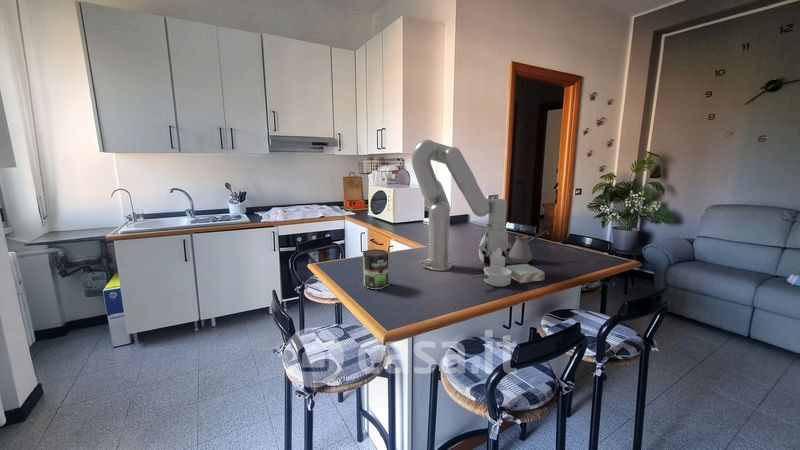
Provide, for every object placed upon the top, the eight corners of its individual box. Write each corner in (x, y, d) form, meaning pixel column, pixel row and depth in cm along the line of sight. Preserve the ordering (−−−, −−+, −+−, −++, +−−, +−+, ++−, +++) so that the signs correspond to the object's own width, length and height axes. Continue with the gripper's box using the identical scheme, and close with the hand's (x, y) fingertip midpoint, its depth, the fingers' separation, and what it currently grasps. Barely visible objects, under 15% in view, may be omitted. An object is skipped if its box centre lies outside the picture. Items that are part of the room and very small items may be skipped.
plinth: (520, 283, 139) (521, 274, 138) (503, 273, 150) (504, 265, 149) (544, 280, 142) (545, 271, 142) (526, 271, 154) (526, 263, 153)
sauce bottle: (475, 264, 164) (477, 228, 161) (481, 260, 171) (483, 225, 167) (491, 266, 160) (493, 230, 157) (496, 262, 166) (498, 227, 163)
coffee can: (392, 287, 135) (392, 253, 132) (369, 292, 130) (368, 257, 127) (382, 279, 144) (381, 247, 141) (359, 283, 139) (359, 251, 136)
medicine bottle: (484, 267, 159) (485, 243, 156) (498, 267, 159) (500, 243, 157) (489, 272, 152) (490, 247, 149) (504, 272, 152) (506, 247, 150)
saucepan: (461, 285, 137) (462, 272, 136) (496, 276, 147) (497, 264, 146) (481, 294, 127) (482, 281, 126) (517, 284, 137) (518, 272, 136)
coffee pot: (517, 265, 162) (519, 235, 159) (503, 259, 173) (505, 230, 170) (553, 261, 168) (556, 232, 165) (538, 255, 178) (540, 228, 176)
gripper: (484, 228, 145) (482, 267, 149) (518, 226, 150) (515, 263, 154) (475, 225, 152) (473, 262, 156) (508, 223, 157) (505, 259, 161)
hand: (494, 262), depth 155 cm, fingers closed on medicine bottle, 8 cm apart
